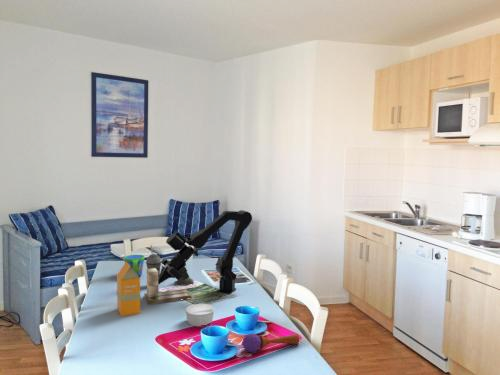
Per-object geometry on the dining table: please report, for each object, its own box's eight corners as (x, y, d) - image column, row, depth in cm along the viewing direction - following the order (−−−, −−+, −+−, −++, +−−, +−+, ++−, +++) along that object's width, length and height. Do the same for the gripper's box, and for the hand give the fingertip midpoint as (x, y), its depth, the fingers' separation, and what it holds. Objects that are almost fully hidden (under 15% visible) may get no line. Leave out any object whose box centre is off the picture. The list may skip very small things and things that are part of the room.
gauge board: (185, 292, 200) (185, 288, 199) (191, 298, 190) (191, 294, 190) (144, 297, 192) (144, 292, 192) (148, 304, 183) (148, 300, 183)
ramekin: (202, 330, 157) (202, 316, 157) (179, 323, 163) (179, 310, 163) (220, 320, 167) (220, 307, 166) (197, 314, 173) (197, 301, 172)
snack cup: (125, 272, 231) (124, 253, 230) (145, 271, 234) (145, 252, 233) (123, 280, 216) (122, 260, 215) (144, 279, 218) (144, 259, 217)
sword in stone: (193, 280, 218) (193, 257, 217) (194, 285, 211) (194, 262, 209) (173, 281, 216) (173, 258, 215) (174, 286, 209) (174, 263, 207)
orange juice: (121, 316, 169) (120, 267, 168) (117, 309, 177) (116, 261, 176) (140, 313, 173) (140, 264, 171) (136, 306, 181) (135, 259, 179)
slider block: (155, 292, 192) (155, 268, 191) (159, 298, 185) (159, 272, 184) (146, 293, 190) (146, 269, 190) (149, 299, 183) (149, 273, 182)
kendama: (302, 336, 144) (248, 340, 137) (299, 351, 146) (245, 357, 138) (294, 326, 150) (241, 330, 142) (291, 341, 151) (239, 346, 143)
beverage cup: (157, 288, 204) (157, 247, 202) (143, 287, 206) (143, 246, 204) (163, 283, 211) (163, 244, 210) (150, 282, 213) (149, 243, 211)
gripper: (200, 273, 186) (175, 301, 183) (189, 263, 204) (166, 288, 200) (182, 257, 183) (156, 285, 179) (172, 248, 200) (149, 273, 197)
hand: (157, 283), depth 189 cm, fingers closed
